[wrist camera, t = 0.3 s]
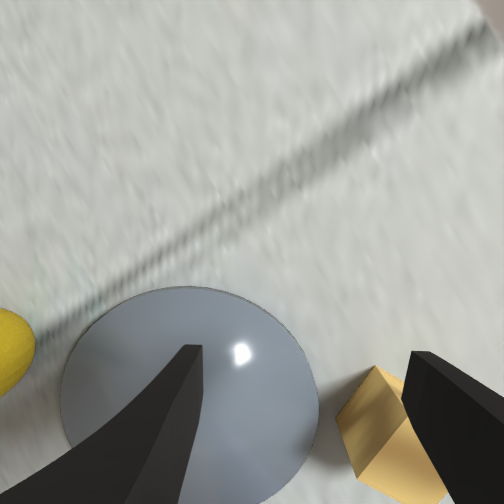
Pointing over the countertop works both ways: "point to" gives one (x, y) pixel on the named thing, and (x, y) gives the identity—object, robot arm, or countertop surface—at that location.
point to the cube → (387, 442)
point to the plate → (214, 386)
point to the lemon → (14, 349)
